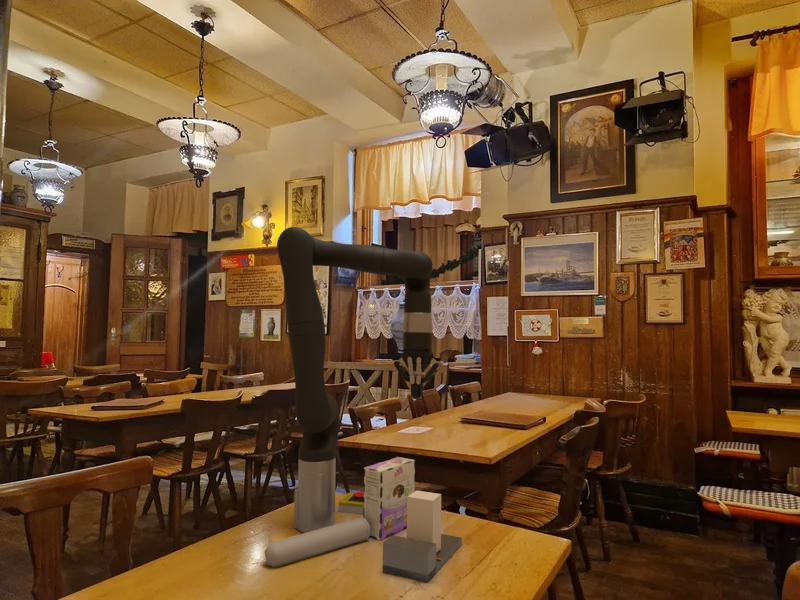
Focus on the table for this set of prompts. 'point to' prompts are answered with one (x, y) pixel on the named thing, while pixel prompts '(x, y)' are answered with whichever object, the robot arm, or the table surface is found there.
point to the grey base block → (417, 556)
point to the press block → (424, 517)
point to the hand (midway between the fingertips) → (417, 398)
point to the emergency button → (351, 503)
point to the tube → (317, 542)
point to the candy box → (388, 495)
